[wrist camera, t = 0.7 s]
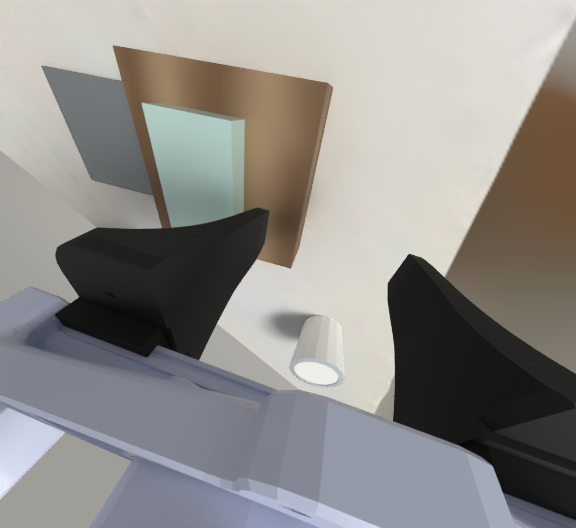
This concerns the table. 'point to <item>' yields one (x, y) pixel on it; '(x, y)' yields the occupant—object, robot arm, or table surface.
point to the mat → (101, 127)
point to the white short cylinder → (319, 353)
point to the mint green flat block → (197, 162)
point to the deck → (257, 137)
